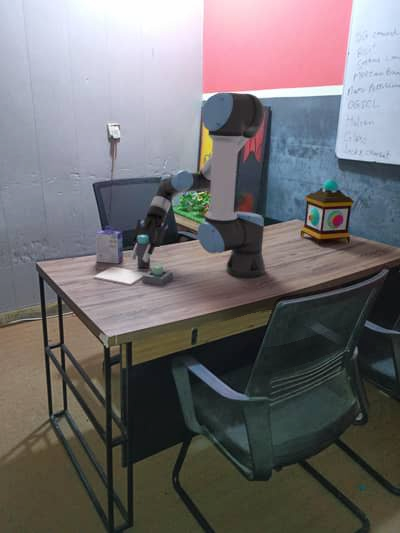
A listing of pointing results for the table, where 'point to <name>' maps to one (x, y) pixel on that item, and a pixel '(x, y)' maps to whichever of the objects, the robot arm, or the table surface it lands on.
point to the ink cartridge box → (109, 246)
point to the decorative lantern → (327, 213)
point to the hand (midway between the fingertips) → (138, 259)
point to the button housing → (157, 278)
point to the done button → (157, 270)
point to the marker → (142, 250)
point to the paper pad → (120, 275)
